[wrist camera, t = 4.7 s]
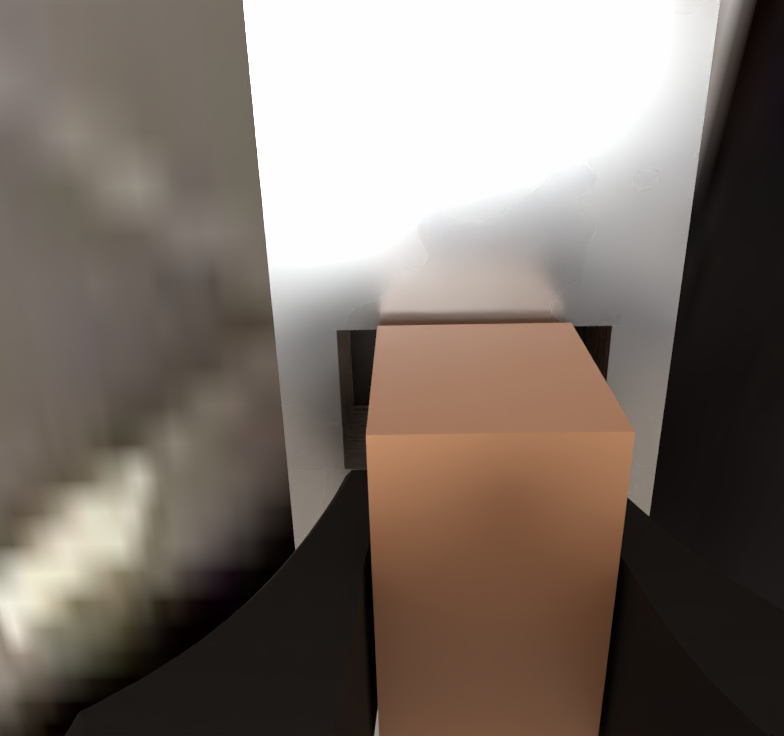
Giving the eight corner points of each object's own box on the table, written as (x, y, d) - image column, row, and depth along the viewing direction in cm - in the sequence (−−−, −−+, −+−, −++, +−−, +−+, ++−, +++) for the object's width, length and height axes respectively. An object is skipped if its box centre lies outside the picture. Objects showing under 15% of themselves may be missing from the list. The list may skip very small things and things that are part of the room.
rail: (696, -311, 11) (777, -409, 8) (572, 818, 20) (594, 917, 18) (249, -293, 11) (206, -384, 8) (339, 818, 20) (330, 916, 18)
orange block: (544, 275, 14) (635, 431, 8) (527, 556, 16) (587, 817, 11) (382, 278, 14) (366, 434, 8) (391, 557, 16) (382, 817, 11)
